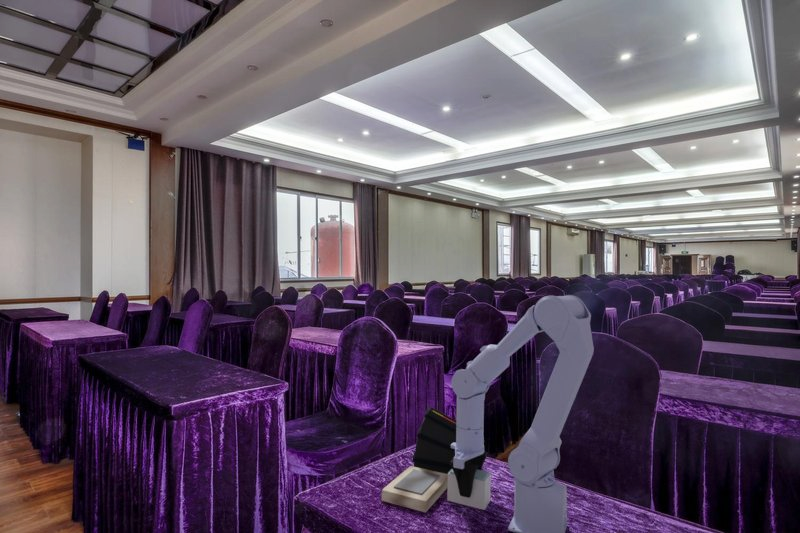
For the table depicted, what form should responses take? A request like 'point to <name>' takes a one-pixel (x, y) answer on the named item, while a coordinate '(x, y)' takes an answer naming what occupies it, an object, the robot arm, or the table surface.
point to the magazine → (435, 442)
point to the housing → (479, 490)
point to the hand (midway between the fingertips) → (469, 491)
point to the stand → (416, 488)
